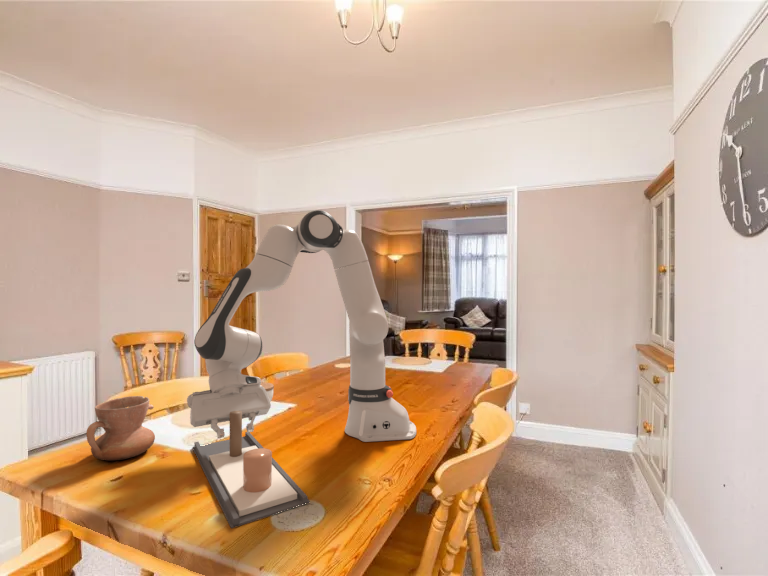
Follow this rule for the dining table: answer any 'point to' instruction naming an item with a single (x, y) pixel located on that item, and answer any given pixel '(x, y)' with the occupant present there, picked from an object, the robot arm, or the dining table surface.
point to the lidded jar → (268, 389)
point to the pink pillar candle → (257, 470)
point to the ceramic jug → (121, 428)
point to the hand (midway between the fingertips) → (236, 433)
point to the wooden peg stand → (231, 475)
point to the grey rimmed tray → (221, 494)
